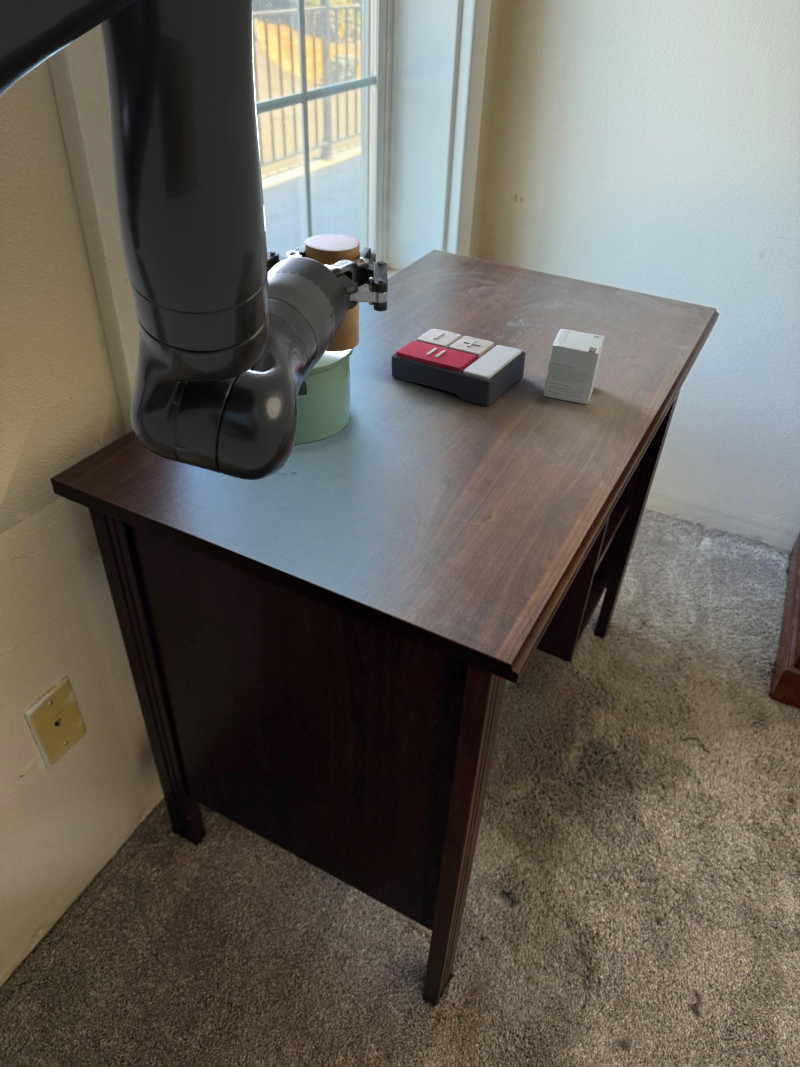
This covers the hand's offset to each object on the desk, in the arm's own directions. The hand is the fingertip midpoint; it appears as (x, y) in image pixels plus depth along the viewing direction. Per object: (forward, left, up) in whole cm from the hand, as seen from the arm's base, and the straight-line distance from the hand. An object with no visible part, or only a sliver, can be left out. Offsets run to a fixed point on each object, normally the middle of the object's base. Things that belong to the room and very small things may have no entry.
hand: (338, 255), depth 74 cm
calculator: (+18, +15, -22) cm, 32 cm away
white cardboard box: (+32, +9, -22) cm, 40 cm away
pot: (-5, +7, -22) cm, 24 cm away
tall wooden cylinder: (-1, -2, -8) cm, 8 cm away
